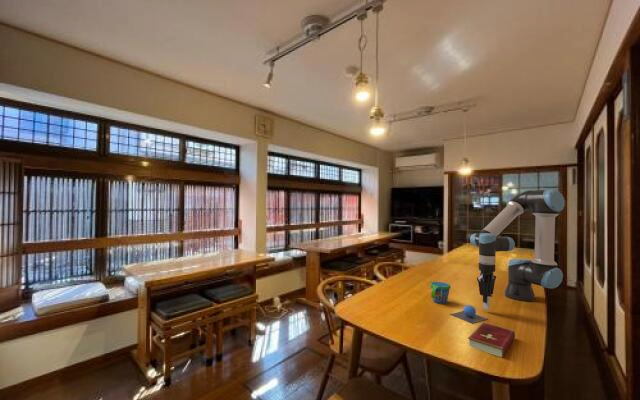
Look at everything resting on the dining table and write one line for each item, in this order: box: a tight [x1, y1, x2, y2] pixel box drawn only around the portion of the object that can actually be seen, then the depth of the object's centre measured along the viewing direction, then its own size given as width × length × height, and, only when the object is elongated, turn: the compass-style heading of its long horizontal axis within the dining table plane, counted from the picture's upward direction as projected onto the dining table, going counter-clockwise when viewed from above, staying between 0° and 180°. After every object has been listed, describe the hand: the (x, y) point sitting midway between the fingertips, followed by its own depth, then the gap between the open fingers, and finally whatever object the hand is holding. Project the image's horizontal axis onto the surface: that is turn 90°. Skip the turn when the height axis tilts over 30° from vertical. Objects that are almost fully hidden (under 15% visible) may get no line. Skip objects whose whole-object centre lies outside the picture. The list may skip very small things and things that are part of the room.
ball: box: [463, 304, 477, 317], centre depth 142 cm, size 6×6×6 cm
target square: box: [449, 310, 489, 325], centre depth 142 cm, size 12×12×1 cm
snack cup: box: [429, 281, 451, 305], centre depth 163 cm, size 16×10×10 cm
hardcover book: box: [467, 321, 516, 359], centre depth 116 cm, size 12×21×4 cm, turn 136°
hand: (486, 308), depth 148 cm, fingers closed
